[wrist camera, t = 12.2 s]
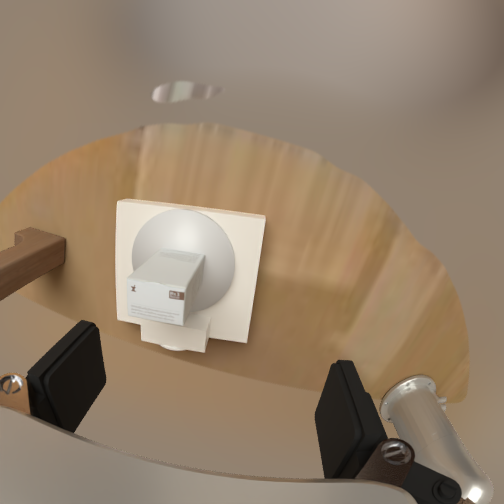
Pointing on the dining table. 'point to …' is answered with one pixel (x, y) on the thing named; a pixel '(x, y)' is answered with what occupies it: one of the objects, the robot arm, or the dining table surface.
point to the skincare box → (165, 286)
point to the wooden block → (29, 259)
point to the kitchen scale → (214, 274)
